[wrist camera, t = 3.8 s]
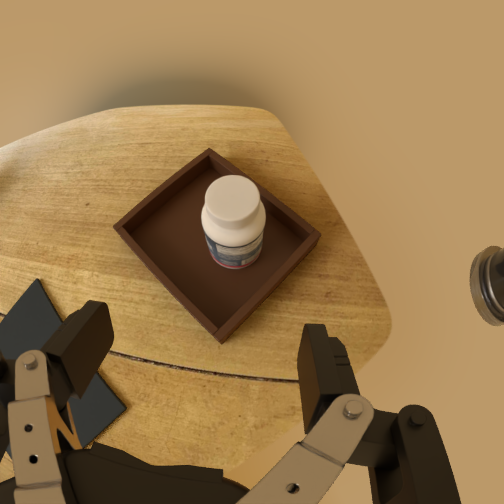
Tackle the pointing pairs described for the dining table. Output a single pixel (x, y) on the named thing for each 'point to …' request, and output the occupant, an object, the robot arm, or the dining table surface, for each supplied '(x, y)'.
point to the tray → (197, 251)
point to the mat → (34, 337)
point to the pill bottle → (233, 221)
